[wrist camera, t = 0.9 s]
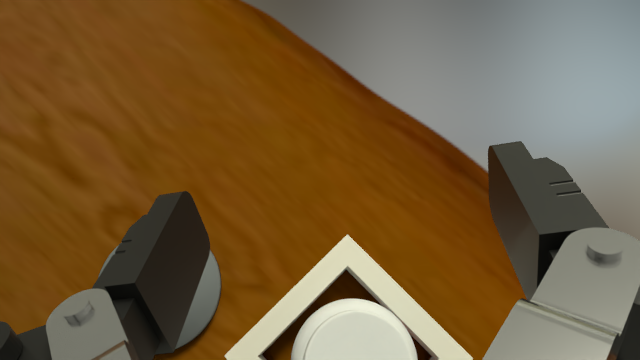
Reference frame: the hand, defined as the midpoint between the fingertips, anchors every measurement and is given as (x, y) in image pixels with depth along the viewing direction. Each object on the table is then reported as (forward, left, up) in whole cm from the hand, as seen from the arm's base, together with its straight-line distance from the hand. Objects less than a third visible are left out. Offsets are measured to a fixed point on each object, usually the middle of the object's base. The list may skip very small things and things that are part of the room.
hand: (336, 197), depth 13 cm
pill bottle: (+4, -3, -20) cm, 21 cm away
